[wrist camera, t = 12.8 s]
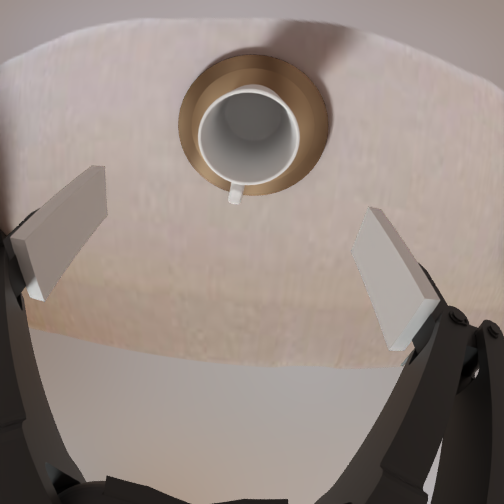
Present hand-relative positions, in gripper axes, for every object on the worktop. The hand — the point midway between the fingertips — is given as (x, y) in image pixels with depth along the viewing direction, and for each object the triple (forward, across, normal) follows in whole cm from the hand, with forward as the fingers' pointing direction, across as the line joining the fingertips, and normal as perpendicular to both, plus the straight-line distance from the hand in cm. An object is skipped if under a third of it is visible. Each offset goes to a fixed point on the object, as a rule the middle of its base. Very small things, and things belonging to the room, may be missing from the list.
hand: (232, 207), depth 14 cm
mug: (+19, 0, 0) cm, 19 cm away
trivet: (+20, +1, 0) cm, 20 cm away
